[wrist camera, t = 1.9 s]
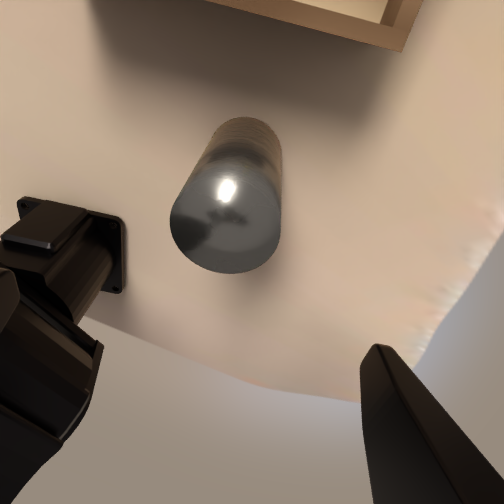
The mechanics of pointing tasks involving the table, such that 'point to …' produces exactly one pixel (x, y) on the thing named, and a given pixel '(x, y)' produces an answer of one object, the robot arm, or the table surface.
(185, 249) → the metal peg
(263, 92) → the table surface
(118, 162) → the table surface
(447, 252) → the table surface
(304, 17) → the walnut box
